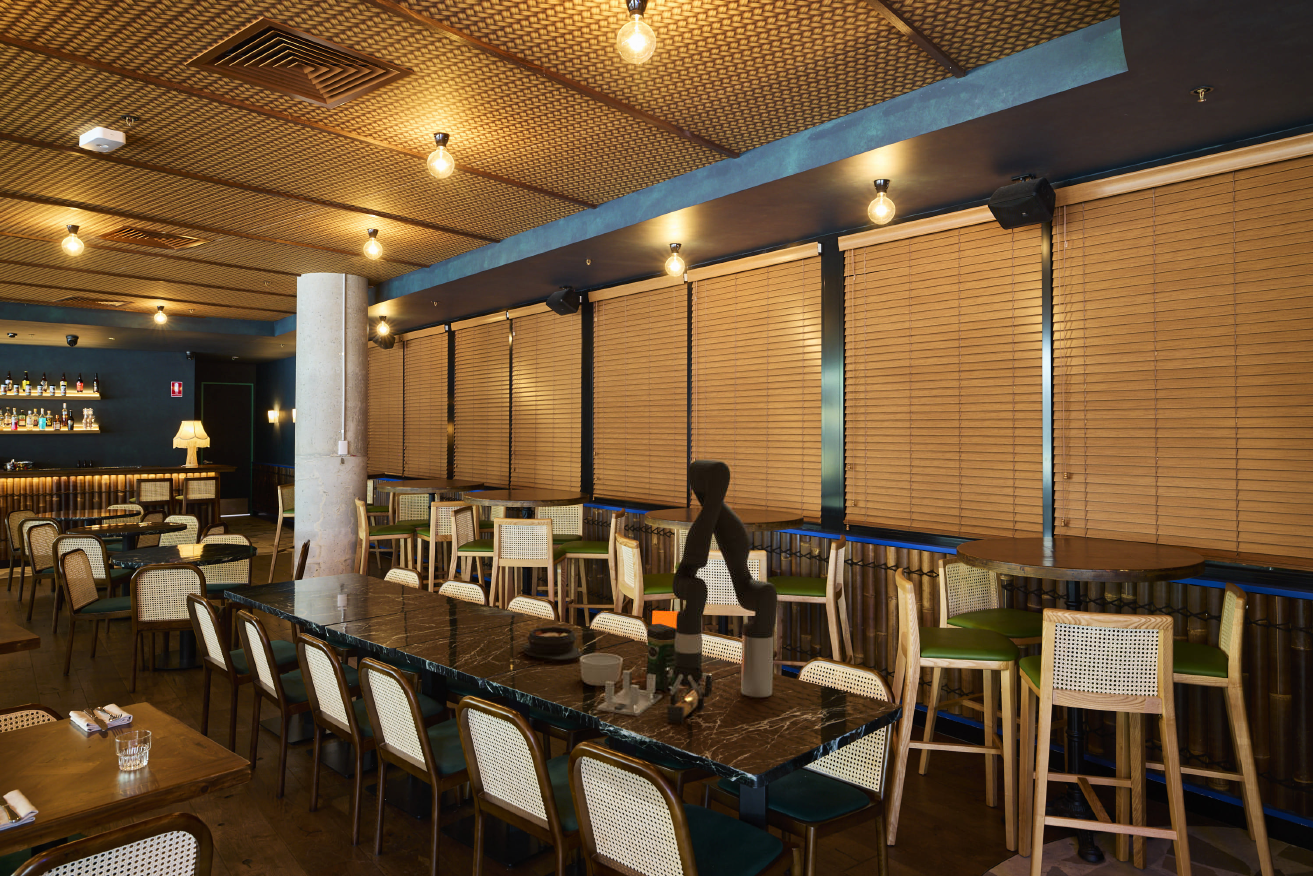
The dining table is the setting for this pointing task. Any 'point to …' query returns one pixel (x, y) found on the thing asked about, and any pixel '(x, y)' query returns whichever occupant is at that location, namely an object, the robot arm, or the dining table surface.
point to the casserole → (552, 644)
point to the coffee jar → (660, 652)
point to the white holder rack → (629, 696)
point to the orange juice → (665, 618)
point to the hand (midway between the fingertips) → (687, 709)
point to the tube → (682, 708)
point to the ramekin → (600, 668)
